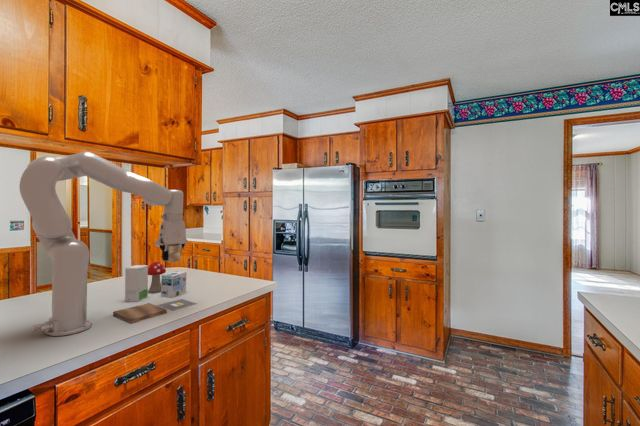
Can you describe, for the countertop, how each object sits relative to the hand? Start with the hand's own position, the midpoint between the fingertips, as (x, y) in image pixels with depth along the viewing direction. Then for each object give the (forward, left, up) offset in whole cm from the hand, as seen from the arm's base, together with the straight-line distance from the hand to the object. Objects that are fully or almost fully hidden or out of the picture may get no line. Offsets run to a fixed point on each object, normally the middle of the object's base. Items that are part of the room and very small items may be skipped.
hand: (171, 259), depth 134 cm
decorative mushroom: (+9, +29, -21) cm, 37 cm away
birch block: (0, 0, -1) cm, 1 cm away
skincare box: (-4, +22, -21) cm, 31 cm away
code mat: (+3, 0, -21) cm, 21 cm away
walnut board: (-13, 0, -21) cm, 24 cm away
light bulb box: (+11, +16, -21) cm, 29 cm away
